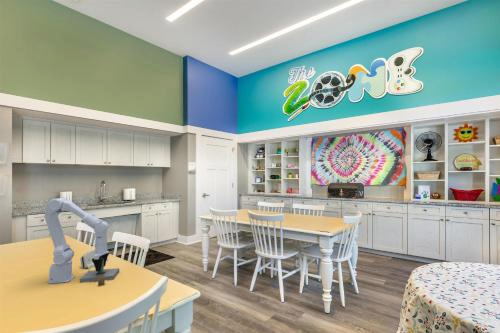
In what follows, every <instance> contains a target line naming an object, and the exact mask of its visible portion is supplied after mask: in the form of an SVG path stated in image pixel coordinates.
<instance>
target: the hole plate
mask: <svg viewBox="0 0 500 333" xmlns="http://www.w3.org/2000/svg"><path fill="white" fill-rule="evenodd" d="M119 272H120V268H118V267H117V268H105V269H104V274H100V275H105V281H112V280H114V279H115V278H116V277H117V275H118V274H119ZM100 275H98V271H97V272H96V270H94V269H92V270H87V272H85V273H84V274H83V275H82V276H81V277H80V278H79V283H80V284H81V283H82V284H83V283H91V282H98V276H100Z"/></svg>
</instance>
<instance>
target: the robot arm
mask: <svg viewBox="0 0 500 333" xmlns="http://www.w3.org/2000/svg"><path fill="white" fill-rule="evenodd" d="M45 206H46V209H45V211H44V212H45V213H44V220H45V222H46V225H47V230H48V231H49V235H50V237H51V240H52V244H53V247H54V249H53V252H52V254H53V258H52V259H53V264H51V265H50V266H49V270H48V282H47V284H50V285H51V284H58V283H60V284H62V283H69V282H70V281H71V280H73V279H74V278H75V277H76V276H75V275H73V258H74V256H75V251H74V250H73V249H72V248H71V245H70V244H68V243H67V240H66V237H65V234H64V231H63V228H62V225H61V222H60V220H59V215H60V214H61V213H62V212H64V211H67V212H68V211H69V212H70V213H72V214H74V215H76V216H77V217H79V218H80V219H82V223H84V224H85V225H86V226H88V227H90V229H93V232H94V233H95V237H94V239H95V240H94V242H95V244H94V250H95V256H94V258H93V259H92V262H93V263H94V266H95V267H94V269H95V270H96V272H97V271H101V267H102V262H103V260H104V268H105V267H106V264H107V262H108V261H107V258H109V255H110V251H109V250H108V229H109V226H110V225H109V223H108V222H107V221H105V220H103V219H100V218H98V217H97V216H96V214H95V213H87V212H85V210H83V209H82V208H80V207H79V206H78V205H76V204H75V203H74V202H73V201H72V200H70V199H68V198H67V197H60V198H52V199H50V200H48V203H46V204H45ZM106 261H107V262H106Z"/></svg>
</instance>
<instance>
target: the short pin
mask: <svg viewBox="0 0 500 333" xmlns="http://www.w3.org/2000/svg"><path fill="white" fill-rule="evenodd" d="M105 281H106V280H105V275H100V276H98V281H97V286H98V287H102V285H103V286H104V285H105Z"/></svg>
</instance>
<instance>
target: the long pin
mask: <svg viewBox="0 0 500 333" xmlns="http://www.w3.org/2000/svg"><path fill="white" fill-rule="evenodd" d="M104 268H105V267H104V260H103V262H102V267H101V271H98V275H100V274H104Z"/></svg>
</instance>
